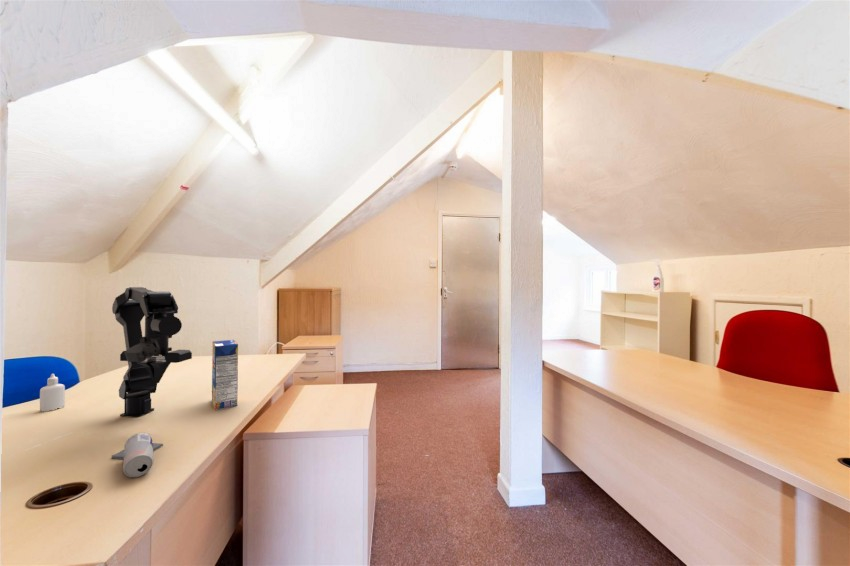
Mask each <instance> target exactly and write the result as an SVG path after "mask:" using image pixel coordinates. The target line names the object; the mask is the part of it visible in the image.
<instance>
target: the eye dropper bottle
mask: <svg viewBox="0 0 850 566" xmlns="http://www.w3.org/2000/svg"><path fill="white" fill-rule="evenodd" d="M46 382H47V384H46V385H45V386H43V387H41V388H40V390H39V411H40V412H43V411H47V412H50V411H49V410H52V411H54V410H53V409H56V408H60V407H62V408H64V407H65V405H66V401H65V400H66V386H65V384H62V383H59V377H58V376H55V373H51V374H50V377H48V378H47V381H46ZM63 406H64V407H63ZM60 409H61V408H60ZM56 410H57V409H56ZM43 413H44V412H43Z"/></svg>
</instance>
